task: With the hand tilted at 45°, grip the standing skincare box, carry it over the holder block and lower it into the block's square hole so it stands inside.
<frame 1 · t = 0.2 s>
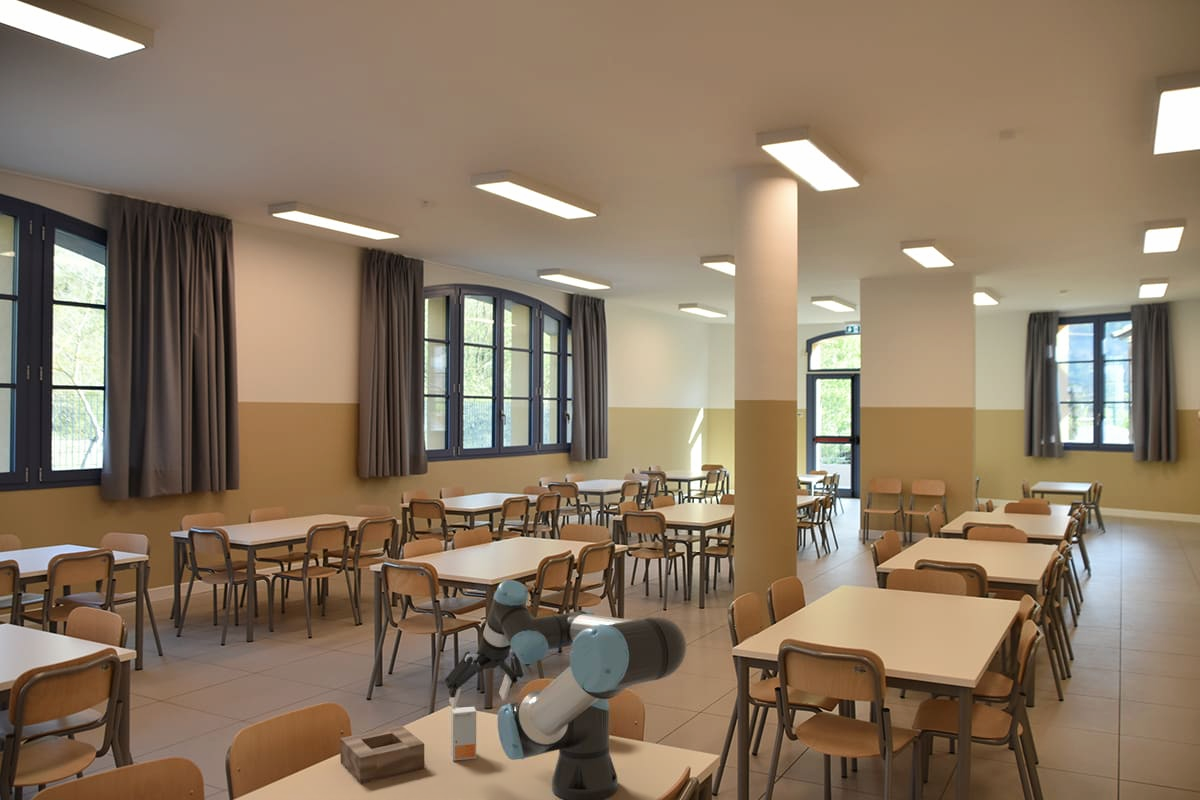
hand: (477, 700, 214), 15 cm above the table, tool tilted 35°, fingers open, 13 cm apart
skincare box: (464, 758, 217), on the table
holder block: (382, 765, 212), on the table
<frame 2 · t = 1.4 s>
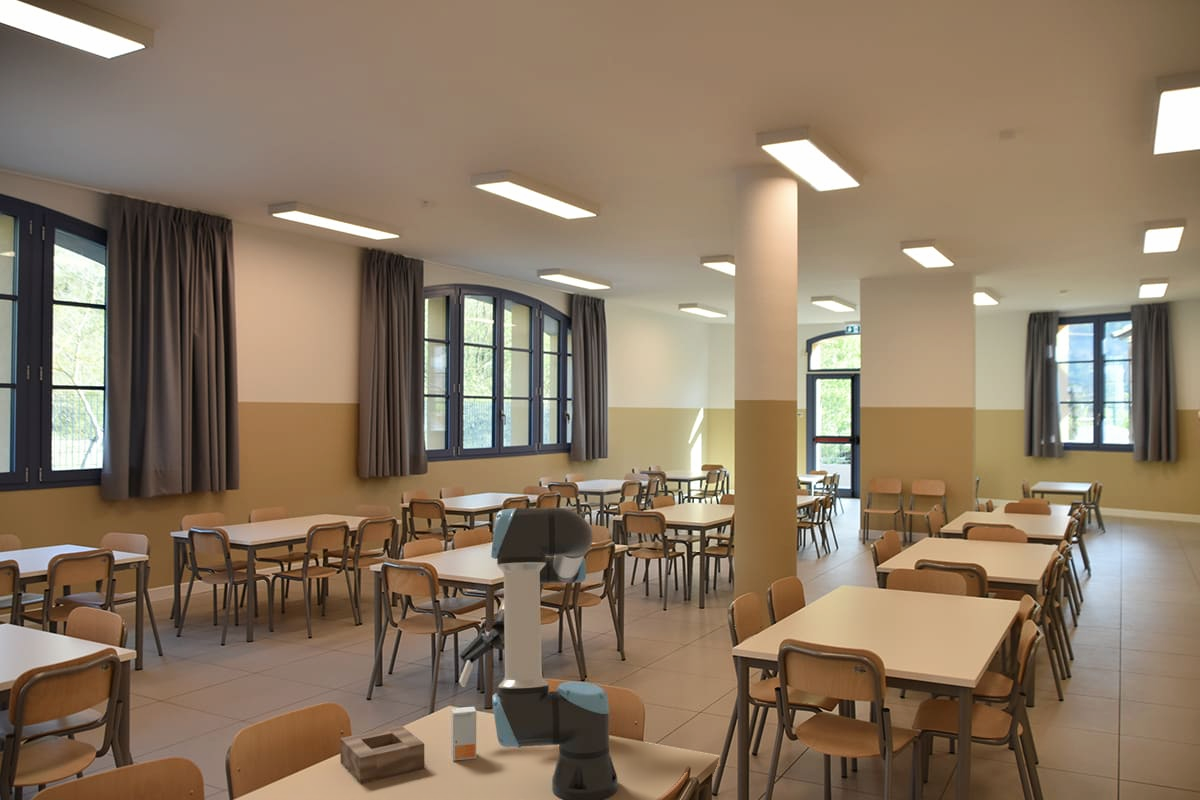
hand: (483, 687, 227), 15 cm above the table, tool tilted 45°, fingers open, 13 cm apart
nothing on the table moved.
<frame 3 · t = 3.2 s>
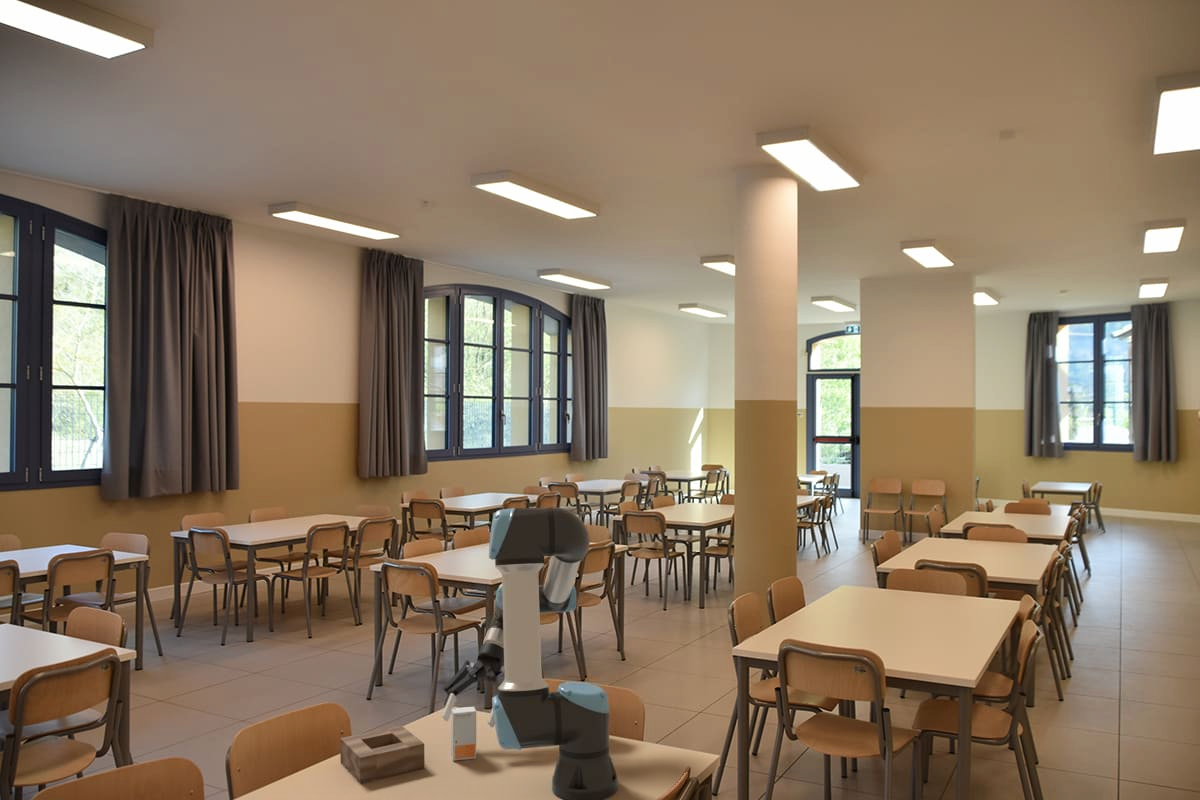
hand: (467, 721, 220), 8 cm above the table, tool tilted 45°, fingers open, 13 cm apart
nothing on the table moved.
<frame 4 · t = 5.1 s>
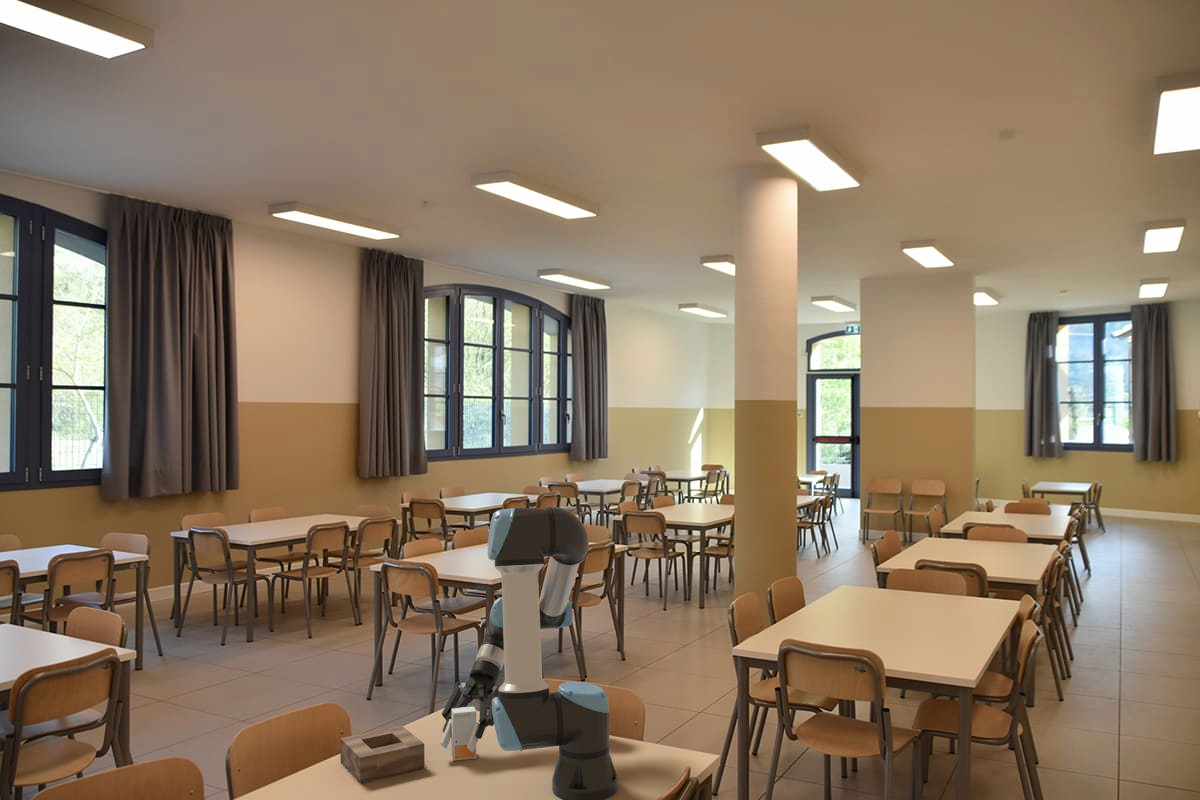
hand: (456, 747, 213), 4 cm above the table, tool tilted 45°, fingers closed on skincare box, 7 cm apart
skincare box: (464, 758, 217), on the table, touching gripper
everything else where it was.
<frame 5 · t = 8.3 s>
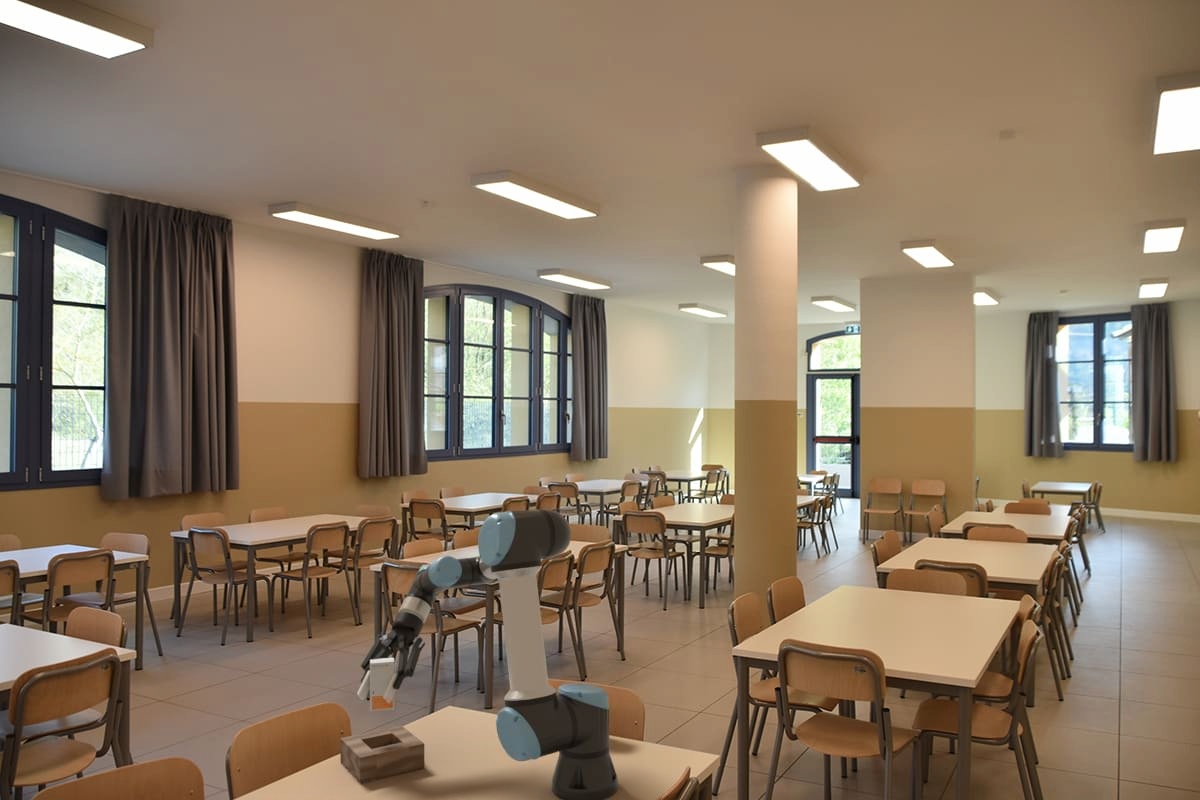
hand: (373, 698, 210), 17 cm above the table, tool tilted 45°, fingers closed on skincare box, 7 cm apart
skincare box: (382, 709, 213), point 14 cm above the table, touching gripper
everything else where it was.
when the fingers open (7 cm above the table, at t = 11.3 s): skincare box drops 3 cm, resting on holder block.
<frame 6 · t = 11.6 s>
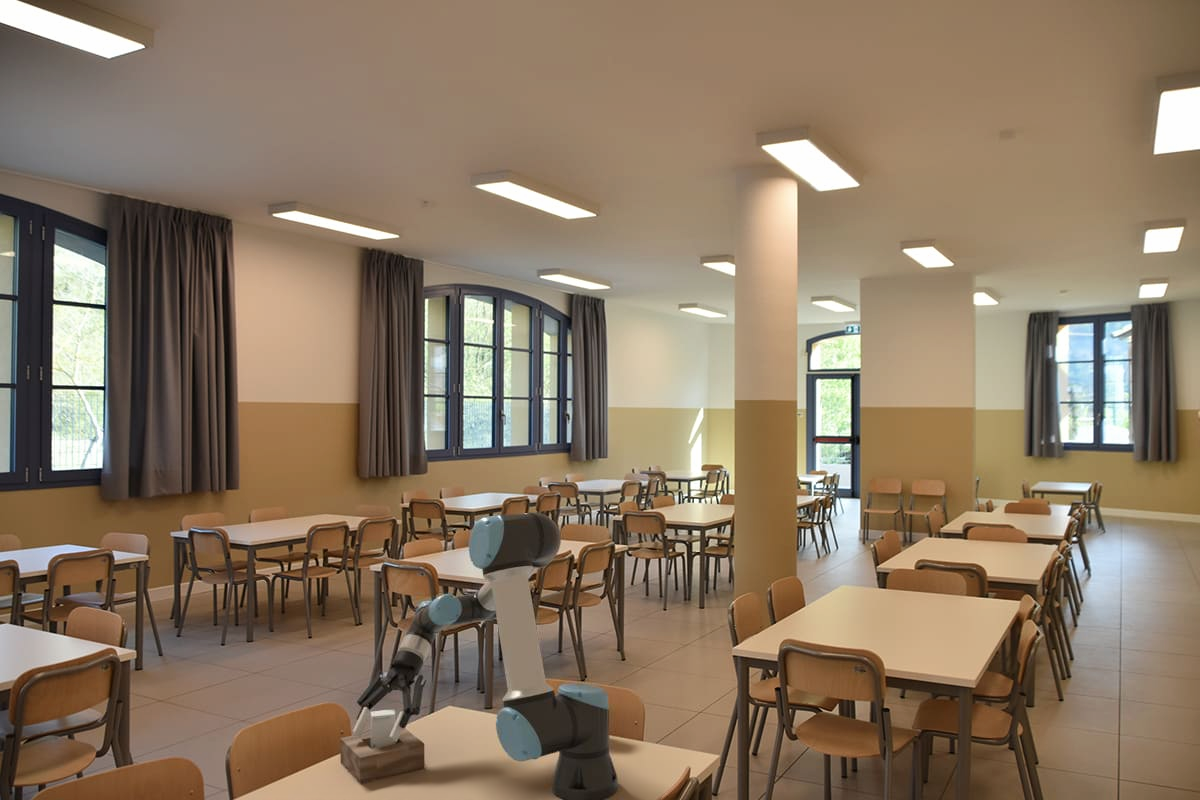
hand: (374, 736, 210), 8 cm above the table, tool tilted 45°, fingers open, 10 cm apart
skincare box: (383, 762, 212), point 1 cm above the table, touching holder block
everything else where it was.
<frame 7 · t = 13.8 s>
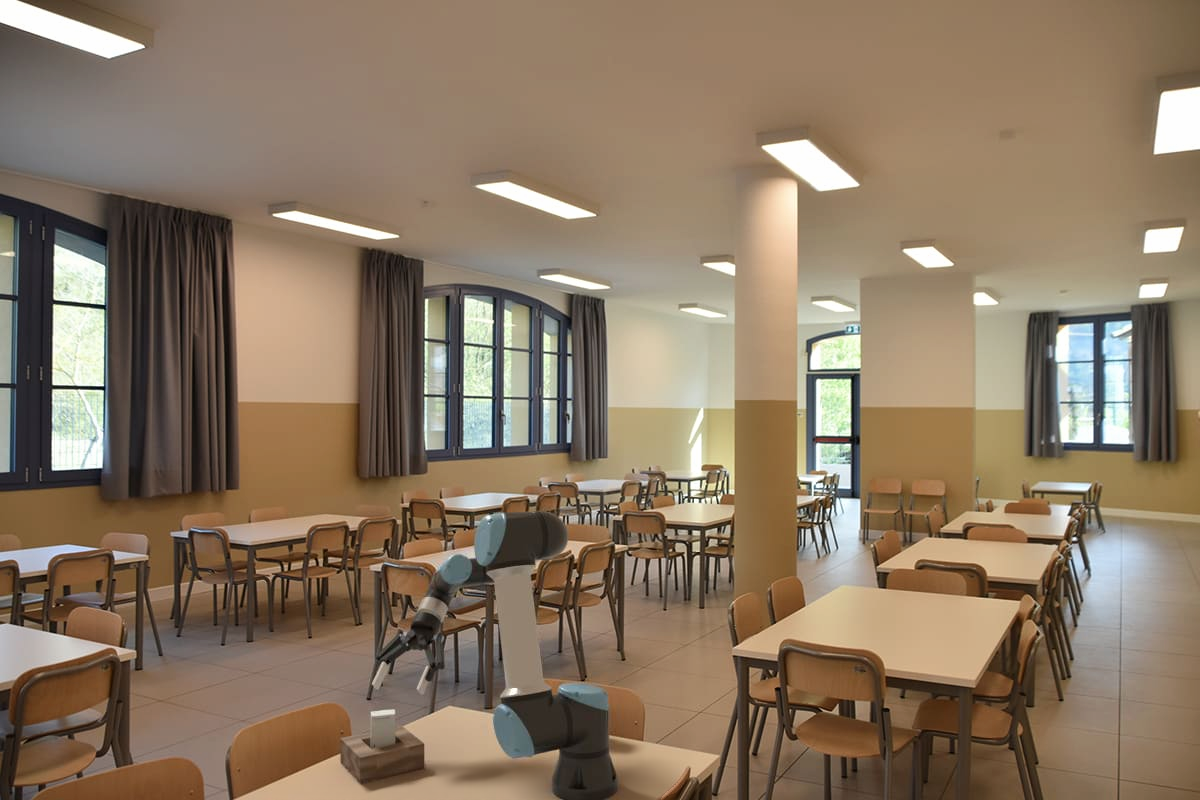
hand: (397, 689, 218), 17 cm above the table, tool tilted 45°, fingers open, 13 cm apart
nothing on the table moved.
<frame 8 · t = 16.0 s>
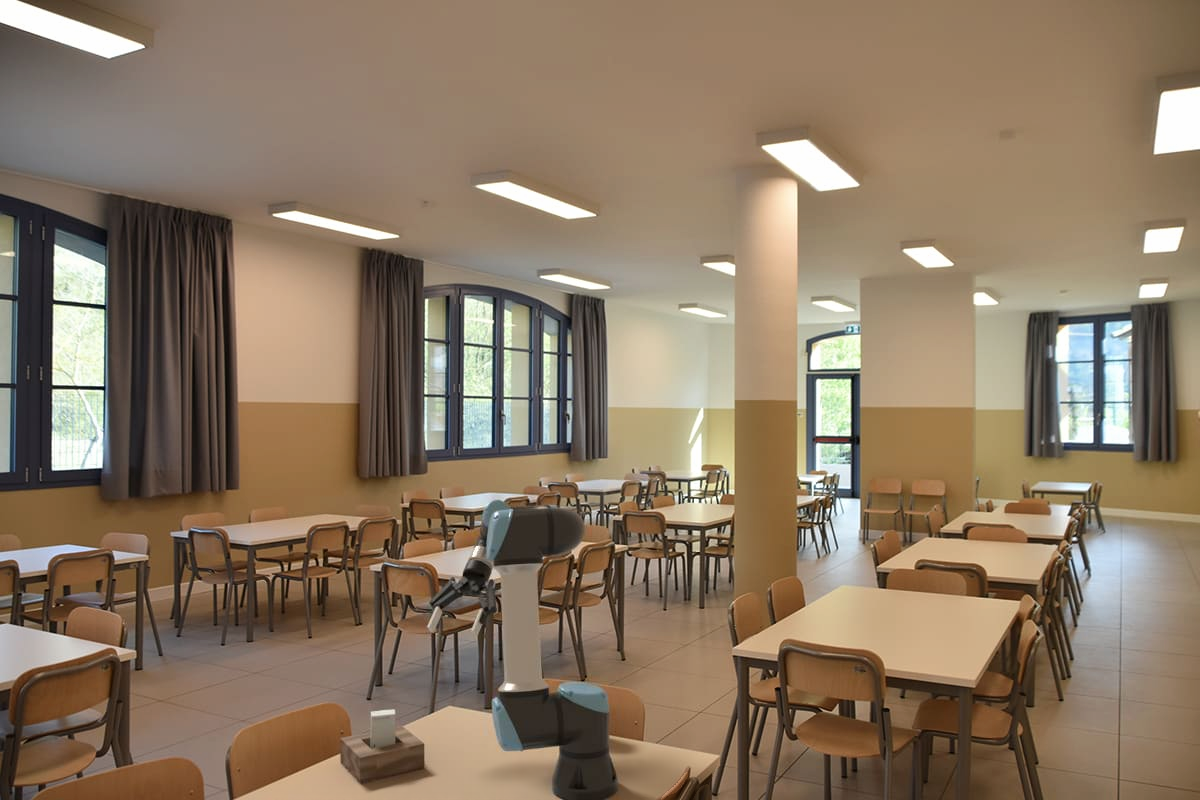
hand: (451, 631, 226), 30 cm above the table, tool tilted 45°, fingers open, 13 cm apart
nothing on the table moved.
at the end: skincare box 0.4 cm off-centre on the holder block, point 0.8 cm above the holder block's base; skincare box tilted 0°; the gripper is holding nothing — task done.
